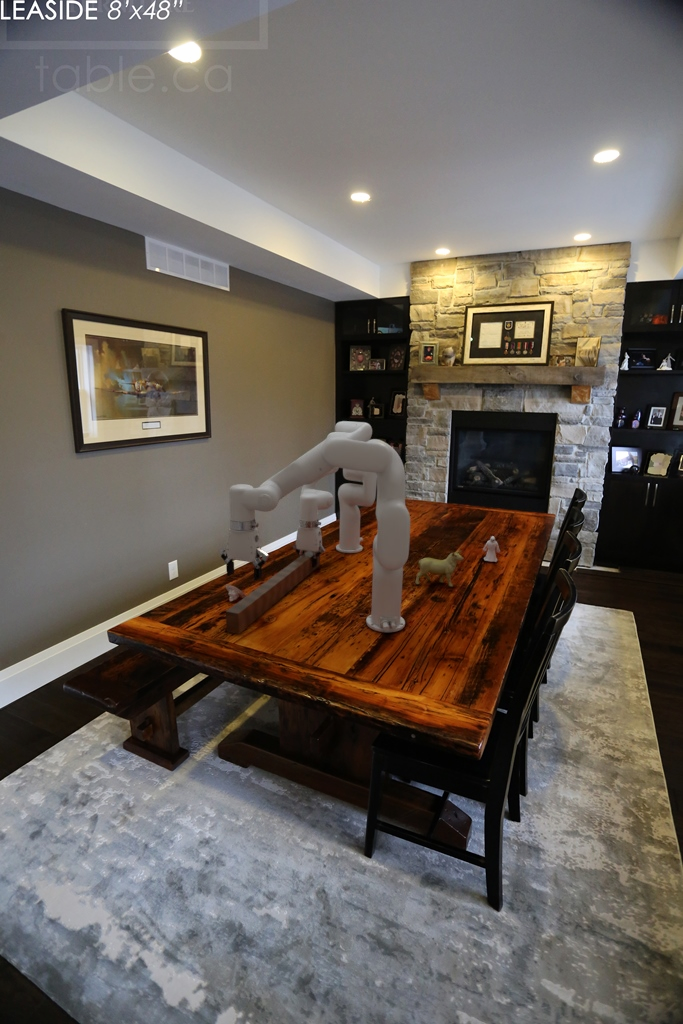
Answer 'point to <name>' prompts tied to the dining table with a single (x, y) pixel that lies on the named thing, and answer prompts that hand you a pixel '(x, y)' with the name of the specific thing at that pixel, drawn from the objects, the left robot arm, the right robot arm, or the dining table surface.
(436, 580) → the dining table surface
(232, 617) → the beam
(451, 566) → the toy
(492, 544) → the figurine
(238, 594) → the seashell
